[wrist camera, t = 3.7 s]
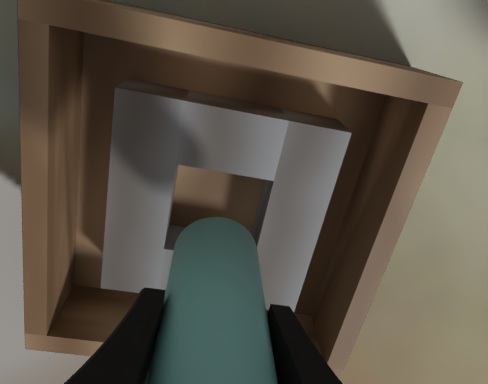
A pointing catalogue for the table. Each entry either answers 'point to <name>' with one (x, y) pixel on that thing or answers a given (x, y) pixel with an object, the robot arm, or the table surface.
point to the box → (209, 164)
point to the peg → (214, 310)
